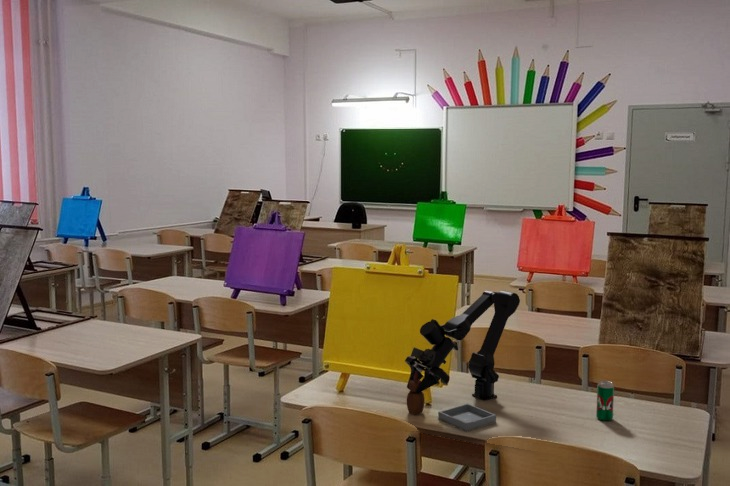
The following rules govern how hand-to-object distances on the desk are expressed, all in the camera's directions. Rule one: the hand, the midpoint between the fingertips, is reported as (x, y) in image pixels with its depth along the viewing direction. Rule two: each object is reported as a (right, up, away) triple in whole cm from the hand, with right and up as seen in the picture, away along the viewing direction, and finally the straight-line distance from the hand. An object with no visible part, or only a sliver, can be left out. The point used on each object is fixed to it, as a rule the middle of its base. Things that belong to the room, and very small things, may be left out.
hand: (412, 390), depth 222 cm
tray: (+17, -9, -5) cm, 20 cm away
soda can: (+62, -8, -5) cm, 63 cm away
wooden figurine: (+1, -8, +2) cm, 8 cm away
